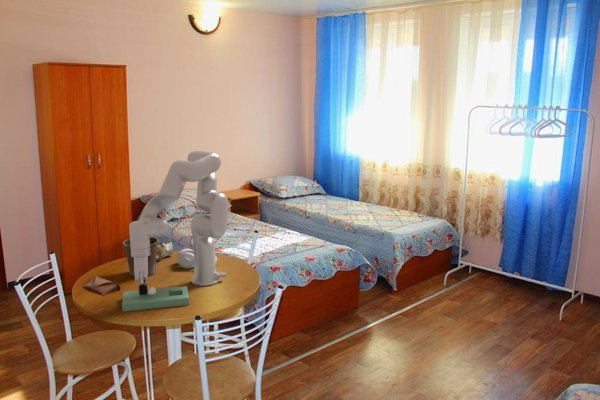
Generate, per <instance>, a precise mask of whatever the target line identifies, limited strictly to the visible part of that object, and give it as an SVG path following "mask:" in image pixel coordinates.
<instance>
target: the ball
mask: <svg viewBox="0 0 600 400" xmlns="http://www.w3.org/2000/svg"><path fill="white" fill-rule="evenodd" d="M156 289H157V288H155V287H154V286H150V287H147V293H148V294H149V295H154V294H155V293H156Z"/></svg>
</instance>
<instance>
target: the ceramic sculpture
mask: <svg viewBox="0 0 600 400" xmlns="http://www.w3.org/2000/svg"><path fill="white" fill-rule="evenodd" d="M173 247H174V246H173V242H172V241H170V242H167V243H164V242H159V243H158V246H157V254H156V261H159V260H162V259H163V258H165V257H172V256H173V254H174V249H173Z"/></svg>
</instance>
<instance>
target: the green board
mask: <svg viewBox="0 0 600 400" xmlns="http://www.w3.org/2000/svg"><path fill="white" fill-rule="evenodd" d="M155 289H156V293H155V294H154V295H149V294H148V293H147V295H139V289H138V290H131V291H130V290H129V291H123V294H122V302H121V309H122V310H121V311H122V312H123V313H124V312H131V311H142V310H151V309H161V308H170V307H171V308H172V307H179V306H190V295H189V291H188V285H187V286H186V285H183V286H175V287H174V286H173V287H164V288H163V287H161V288H155Z"/></svg>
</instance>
